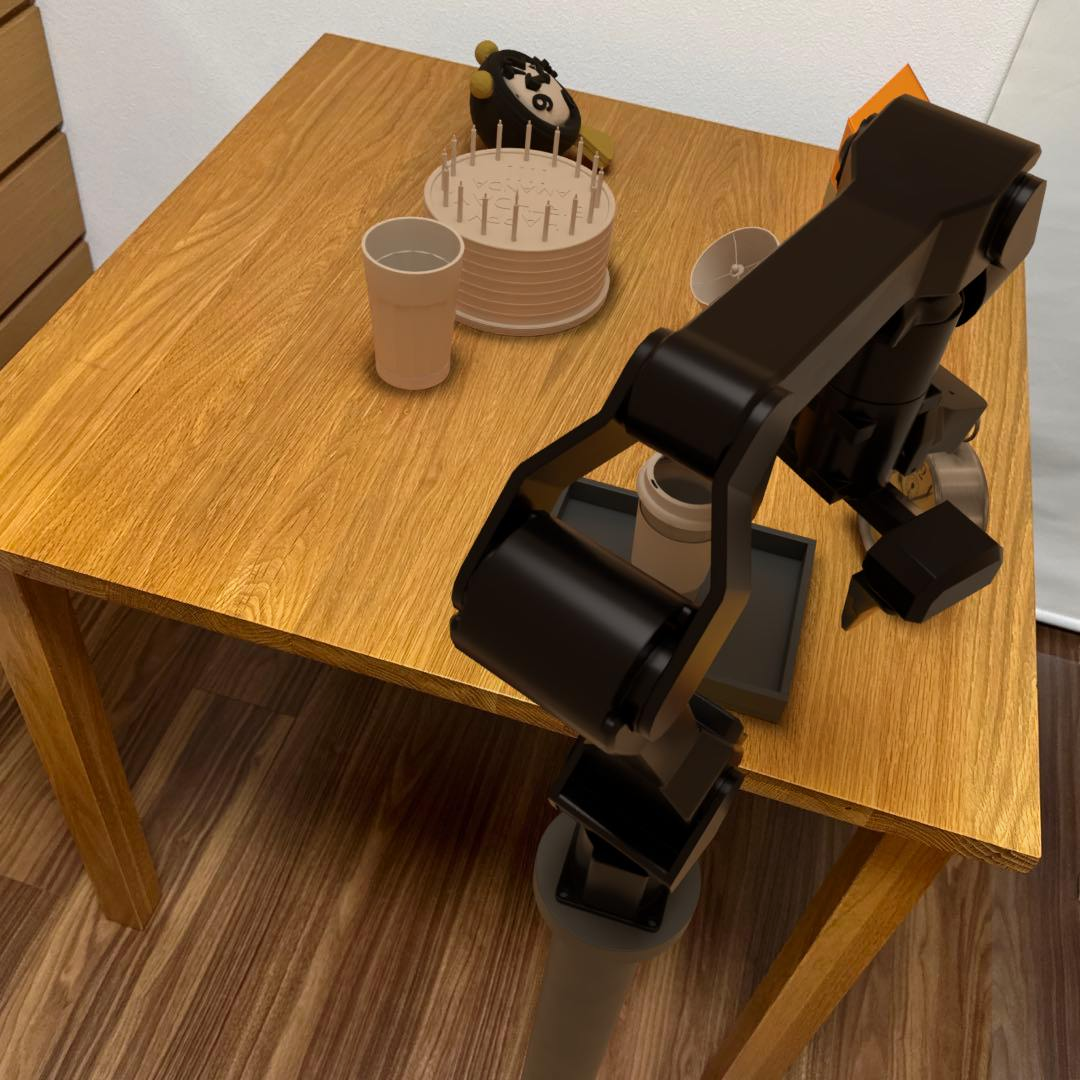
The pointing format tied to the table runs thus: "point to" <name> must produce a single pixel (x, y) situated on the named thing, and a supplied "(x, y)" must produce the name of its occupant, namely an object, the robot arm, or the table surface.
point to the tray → (764, 624)
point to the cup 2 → (673, 525)
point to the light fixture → (729, 261)
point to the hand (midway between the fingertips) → (795, 572)
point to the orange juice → (891, 90)
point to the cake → (525, 235)
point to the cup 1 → (412, 298)
